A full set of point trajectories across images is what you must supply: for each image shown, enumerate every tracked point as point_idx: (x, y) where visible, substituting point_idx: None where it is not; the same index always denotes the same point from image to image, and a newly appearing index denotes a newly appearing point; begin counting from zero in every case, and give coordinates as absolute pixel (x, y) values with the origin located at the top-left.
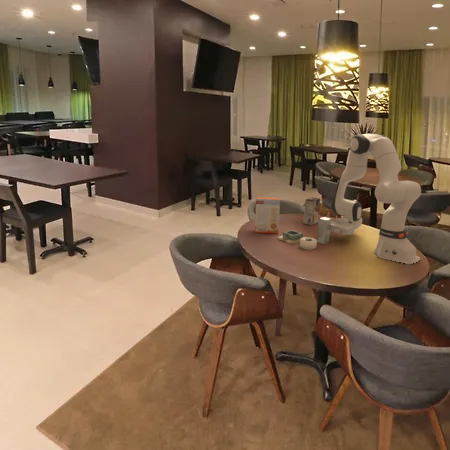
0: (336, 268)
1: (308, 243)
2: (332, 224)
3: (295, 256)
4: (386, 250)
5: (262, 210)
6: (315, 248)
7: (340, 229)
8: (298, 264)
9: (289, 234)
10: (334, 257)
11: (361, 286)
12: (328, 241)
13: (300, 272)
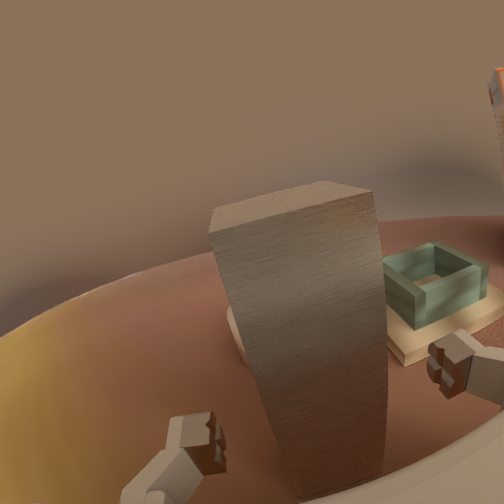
0: (78, 332)
1: None
2: (403, 489)
3: (223, 285)
4: None
5: (499, 133)
6: (240, 356)
7: (124, 496)
8: (175, 281)
9: (396, 253)
10: (108, 371)
11: (22, 326)
12: (295, 487)
13: (145, 277)
